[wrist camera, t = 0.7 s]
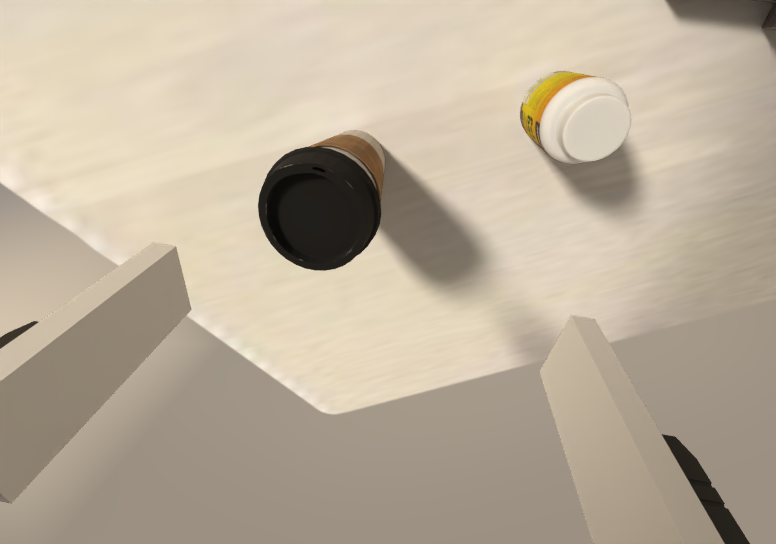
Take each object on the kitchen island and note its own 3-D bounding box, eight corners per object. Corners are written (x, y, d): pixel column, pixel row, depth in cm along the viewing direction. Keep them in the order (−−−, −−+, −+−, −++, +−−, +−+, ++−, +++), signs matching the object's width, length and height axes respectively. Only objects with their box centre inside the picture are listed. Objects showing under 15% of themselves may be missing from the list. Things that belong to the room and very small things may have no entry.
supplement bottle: (505, 108, 31) (531, 130, 22) (562, 54, 28) (617, 56, 20) (542, 153, 32) (580, 190, 24) (599, 106, 30) (664, 129, 21)
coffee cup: (408, 130, 33) (390, 180, 20) (385, 210, 37) (360, 291, 25) (322, 104, 32) (249, 138, 20) (310, 188, 37) (245, 259, 24)
